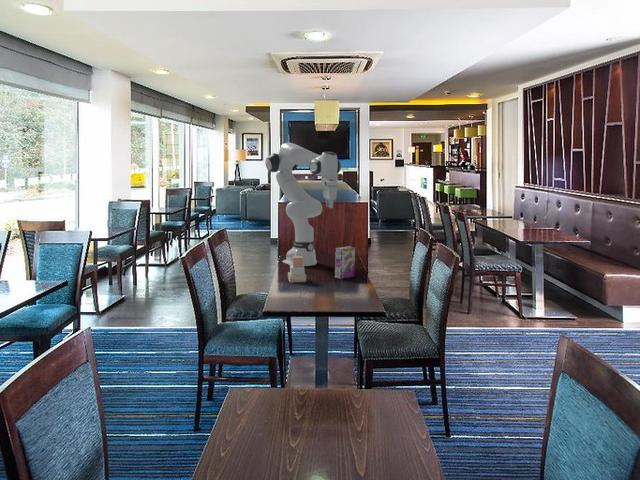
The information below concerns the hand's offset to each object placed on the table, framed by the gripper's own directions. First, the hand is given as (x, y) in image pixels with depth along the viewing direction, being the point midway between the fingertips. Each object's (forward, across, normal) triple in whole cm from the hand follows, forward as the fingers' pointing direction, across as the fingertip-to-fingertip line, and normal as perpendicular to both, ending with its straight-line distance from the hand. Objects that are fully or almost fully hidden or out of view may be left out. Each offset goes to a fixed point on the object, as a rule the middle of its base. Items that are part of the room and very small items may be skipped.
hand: (329, 207), depth 306 cm
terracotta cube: (+30, +13, -19) cm, 38 cm away
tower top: (+34, +13, -20) cm, 41 cm away
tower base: (+38, +13, -20) cm, 44 cm away
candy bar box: (+37, +10, +7) cm, 39 cm away
